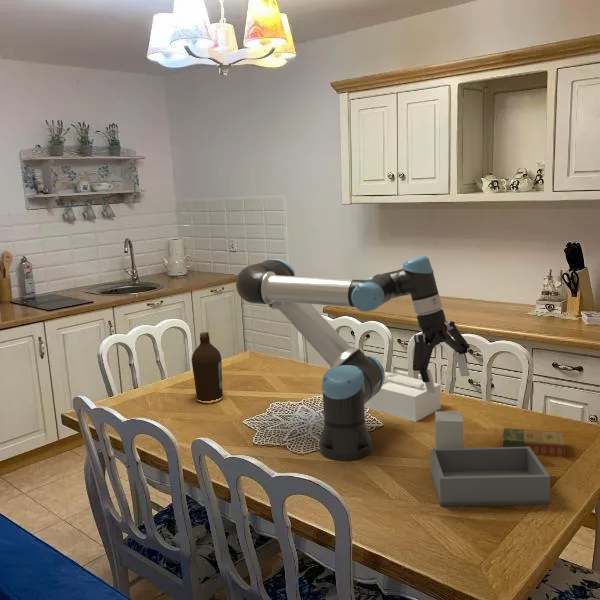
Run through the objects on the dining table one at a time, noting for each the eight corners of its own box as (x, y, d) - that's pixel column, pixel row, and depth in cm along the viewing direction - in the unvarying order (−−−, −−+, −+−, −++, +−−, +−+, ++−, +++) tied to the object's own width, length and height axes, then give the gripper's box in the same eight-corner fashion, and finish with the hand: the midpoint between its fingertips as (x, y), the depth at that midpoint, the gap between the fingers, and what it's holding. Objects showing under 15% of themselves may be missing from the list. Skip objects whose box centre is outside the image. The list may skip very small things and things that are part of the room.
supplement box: (463, 466, 164) (463, 421, 161) (435, 465, 165) (434, 421, 163) (462, 454, 171) (462, 411, 168) (435, 453, 172) (434, 410, 170)
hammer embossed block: (380, 393, 222) (379, 364, 220) (440, 409, 204) (440, 377, 202) (354, 405, 212) (353, 374, 210) (415, 422, 195) (414, 389, 192)
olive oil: (196, 406, 219) (189, 338, 214) (194, 396, 229) (188, 331, 224) (226, 402, 221) (220, 334, 216) (223, 393, 231) (217, 328, 226)
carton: (565, 458, 166) (565, 443, 165) (502, 453, 171) (502, 438, 170) (562, 445, 173) (563, 431, 173) (502, 440, 179) (502, 426, 178)
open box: (440, 506, 145) (440, 478, 144) (430, 473, 161) (430, 448, 159) (549, 504, 143) (550, 476, 142) (529, 471, 159) (529, 446, 157)
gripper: (405, 324, 163) (426, 400, 164) (469, 298, 175) (488, 369, 177) (387, 325, 169) (407, 398, 171) (450, 300, 182) (469, 368, 183)
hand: (449, 384), depth 174 cm, fingers open, 13 cm apart
